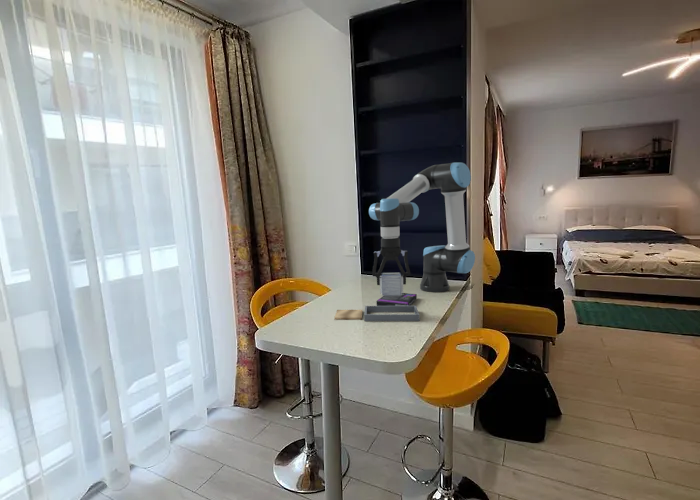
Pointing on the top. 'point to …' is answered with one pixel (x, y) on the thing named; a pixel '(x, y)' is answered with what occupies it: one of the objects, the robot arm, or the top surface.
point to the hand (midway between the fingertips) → (391, 292)
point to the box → (397, 300)
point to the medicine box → (391, 284)
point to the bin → (391, 316)
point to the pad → (348, 315)
